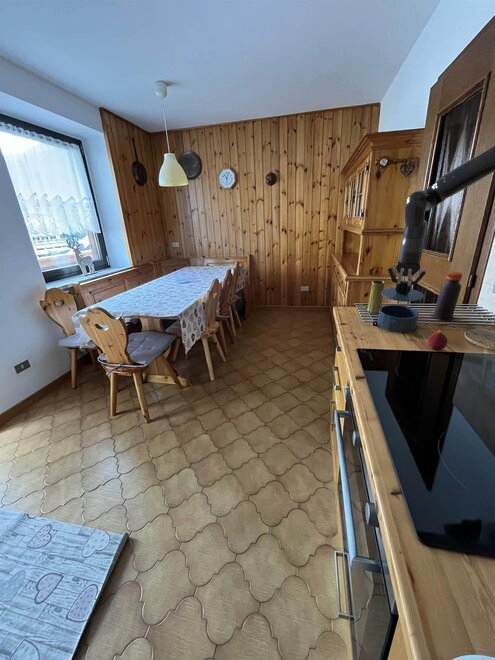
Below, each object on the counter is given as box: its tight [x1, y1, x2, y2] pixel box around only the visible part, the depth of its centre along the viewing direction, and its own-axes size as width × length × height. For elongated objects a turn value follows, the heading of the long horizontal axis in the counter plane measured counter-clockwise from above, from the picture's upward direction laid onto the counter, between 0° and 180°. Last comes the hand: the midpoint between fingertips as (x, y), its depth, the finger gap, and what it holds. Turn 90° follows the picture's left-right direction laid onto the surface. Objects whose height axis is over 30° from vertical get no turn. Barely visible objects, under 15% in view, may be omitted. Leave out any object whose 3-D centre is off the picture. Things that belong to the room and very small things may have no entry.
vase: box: [366, 279, 385, 314], centre depth 131 cm, size 6×6×14 cm
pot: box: [377, 304, 419, 333], centre depth 119 cm, size 14×20×6 cm
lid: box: [381, 280, 425, 303], centre depth 113 cm, size 15×15×6 cm
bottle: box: [433, 271, 463, 322], centre depth 119 cm, size 7×7×20 cm
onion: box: [427, 329, 449, 351], centre depth 100 cm, size 6×6×8 cm
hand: (402, 293), depth 113 cm, fingers closed on lid, 2 cm apart
